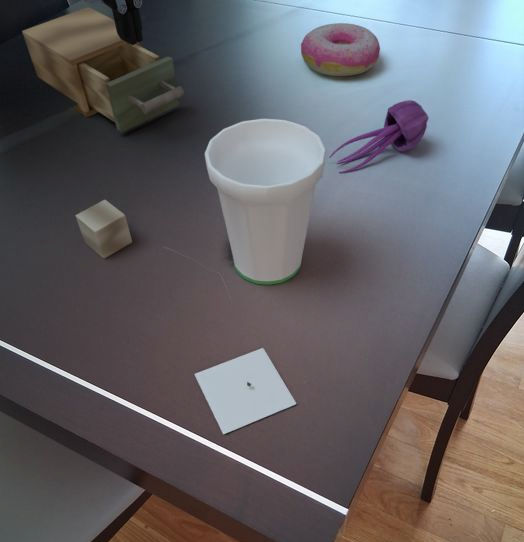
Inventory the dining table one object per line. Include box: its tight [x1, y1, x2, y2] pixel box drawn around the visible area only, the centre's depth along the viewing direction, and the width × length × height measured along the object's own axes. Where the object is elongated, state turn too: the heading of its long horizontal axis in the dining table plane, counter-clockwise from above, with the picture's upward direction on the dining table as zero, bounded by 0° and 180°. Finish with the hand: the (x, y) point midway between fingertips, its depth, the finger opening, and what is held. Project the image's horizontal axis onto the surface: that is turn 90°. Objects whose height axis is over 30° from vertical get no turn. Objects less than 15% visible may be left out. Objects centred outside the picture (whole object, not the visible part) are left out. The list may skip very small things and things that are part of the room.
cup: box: [204, 118, 327, 286], centre depth 64 cm, size 12×12×15 cm
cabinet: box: [21, 6, 143, 118], centre depth 94 cm, size 15×13×9 cm
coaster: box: [194, 347, 297, 435], centre depth 58 cm, size 8×8×1 cm
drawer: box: [77, 43, 185, 133], centre depth 88 cm, size 18×11×7 cm, turn 44°
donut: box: [300, 22, 381, 77], centre depth 98 cm, size 14×13×5 cm
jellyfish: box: [328, 99, 429, 174], centre depth 81 cm, size 7×7×15 cm
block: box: [74, 199, 133, 260], centre depth 71 cm, size 4×4×4 cm
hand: (131, 40), depth 76 cm, fingers closed
